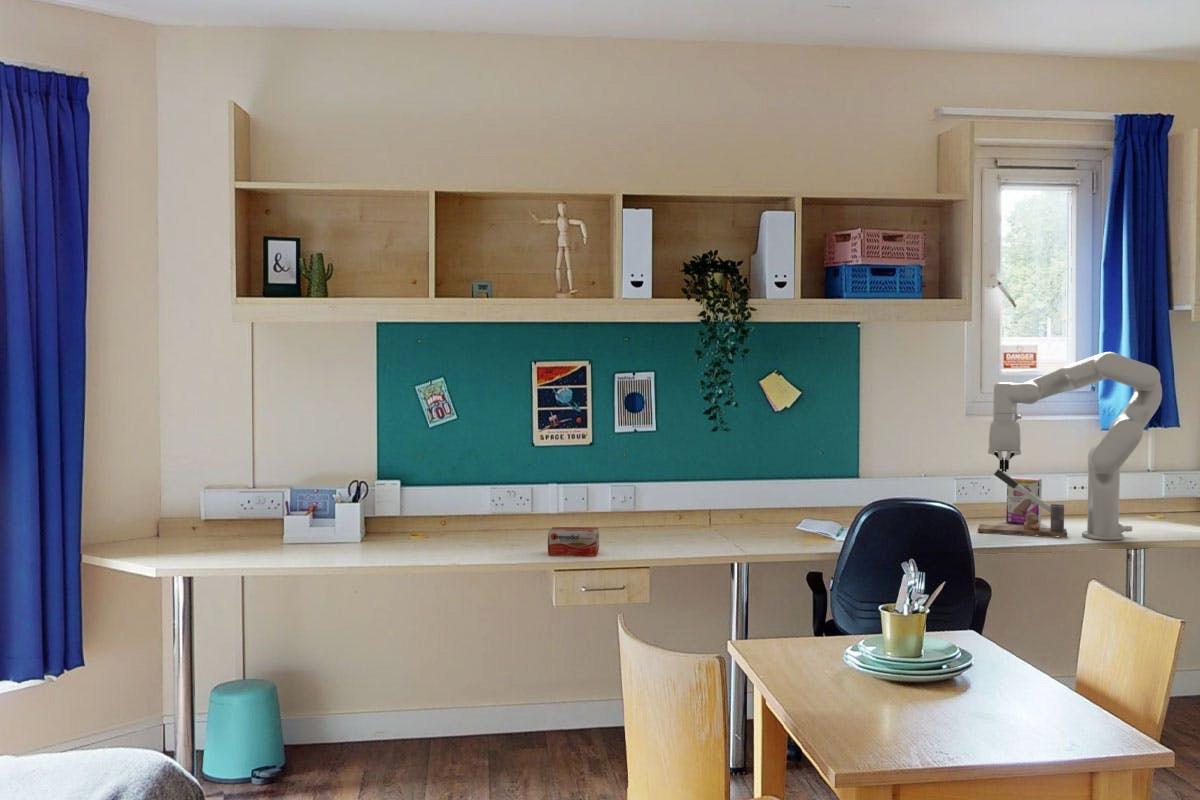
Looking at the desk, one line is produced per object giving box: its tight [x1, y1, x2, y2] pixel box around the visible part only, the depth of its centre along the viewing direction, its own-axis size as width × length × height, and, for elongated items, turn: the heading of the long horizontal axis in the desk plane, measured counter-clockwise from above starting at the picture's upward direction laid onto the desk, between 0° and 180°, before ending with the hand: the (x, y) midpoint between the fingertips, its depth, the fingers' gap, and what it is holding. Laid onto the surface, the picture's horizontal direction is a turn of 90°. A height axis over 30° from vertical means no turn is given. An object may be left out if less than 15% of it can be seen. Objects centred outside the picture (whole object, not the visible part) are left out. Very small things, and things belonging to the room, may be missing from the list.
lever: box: [993, 468, 1051, 514], centre depth 369 cm, size 25×4×2 cm
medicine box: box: [547, 526, 600, 558], centre depth 334 cm, size 15×8×8 cm, turn 85°
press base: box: [977, 503, 1068, 538], centre depth 370 cm, size 28×10×10 cm, turn 68°
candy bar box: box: [1005, 476, 1043, 525], centre depth 390 cm, size 11×5×16 cm, turn 58°
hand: (1004, 471), depth 371 cm, fingers closed
